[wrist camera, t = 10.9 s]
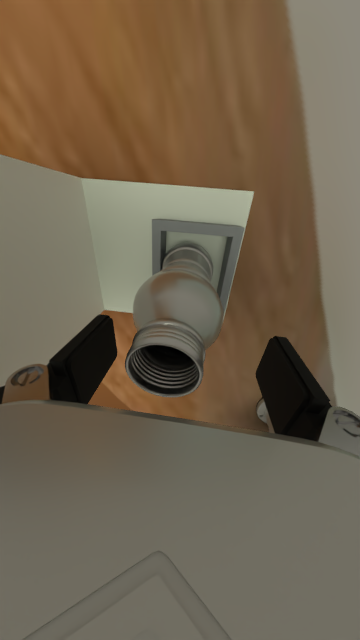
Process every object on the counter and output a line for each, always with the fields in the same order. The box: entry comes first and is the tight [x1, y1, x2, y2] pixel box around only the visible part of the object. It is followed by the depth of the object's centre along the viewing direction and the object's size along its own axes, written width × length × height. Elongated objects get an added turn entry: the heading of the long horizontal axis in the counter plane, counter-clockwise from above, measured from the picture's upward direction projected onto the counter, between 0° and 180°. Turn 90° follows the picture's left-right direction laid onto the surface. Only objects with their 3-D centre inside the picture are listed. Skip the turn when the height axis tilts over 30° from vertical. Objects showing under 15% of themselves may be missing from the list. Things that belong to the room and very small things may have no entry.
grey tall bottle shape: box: [125, 242, 224, 397], centre depth 17 cm, size 6×7×20 cm
